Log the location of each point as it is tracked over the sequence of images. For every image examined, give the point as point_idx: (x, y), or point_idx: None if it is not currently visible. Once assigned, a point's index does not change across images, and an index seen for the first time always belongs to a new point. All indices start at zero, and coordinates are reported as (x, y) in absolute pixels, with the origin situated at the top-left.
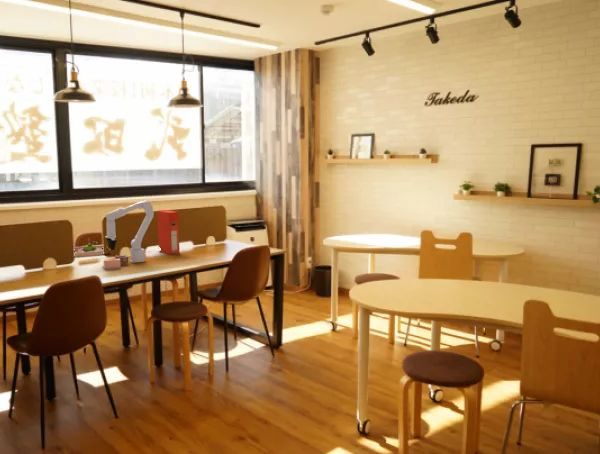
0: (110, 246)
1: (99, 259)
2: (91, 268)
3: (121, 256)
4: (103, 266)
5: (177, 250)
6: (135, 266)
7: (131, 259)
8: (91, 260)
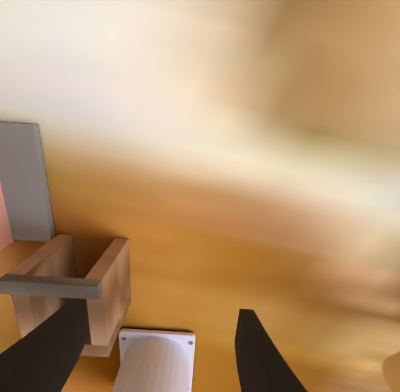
0: (18, 343)
1: (381, 169)
2: (17, 11)
3: (90, 317)
4: (28, 128)
5: None
6: (4, 318)
7: (147, 347)
8: (390, 94)
